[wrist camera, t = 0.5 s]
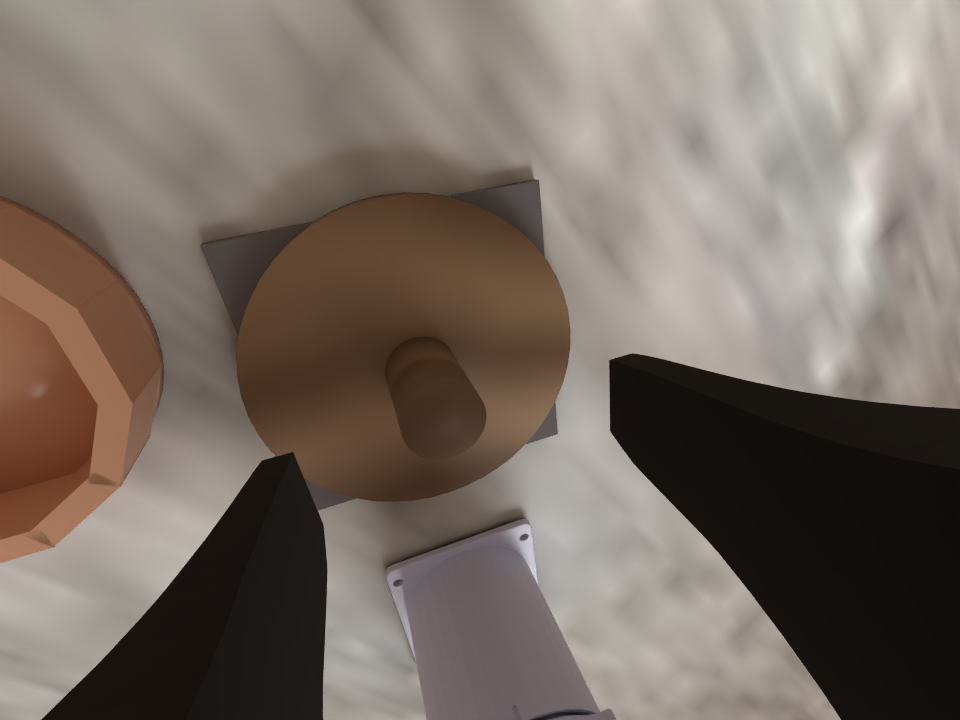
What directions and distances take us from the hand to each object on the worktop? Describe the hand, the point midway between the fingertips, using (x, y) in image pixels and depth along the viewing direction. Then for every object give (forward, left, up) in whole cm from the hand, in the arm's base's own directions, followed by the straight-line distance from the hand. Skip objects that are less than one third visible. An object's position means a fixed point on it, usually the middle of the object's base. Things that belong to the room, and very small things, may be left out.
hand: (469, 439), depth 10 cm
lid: (-2, 0, -9) cm, 9 cm away
